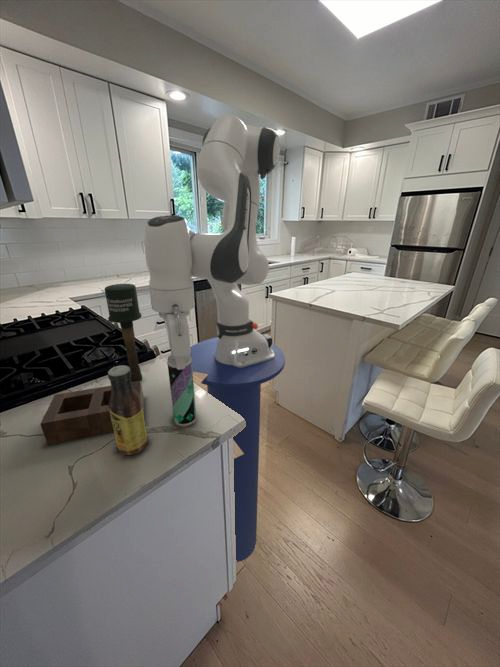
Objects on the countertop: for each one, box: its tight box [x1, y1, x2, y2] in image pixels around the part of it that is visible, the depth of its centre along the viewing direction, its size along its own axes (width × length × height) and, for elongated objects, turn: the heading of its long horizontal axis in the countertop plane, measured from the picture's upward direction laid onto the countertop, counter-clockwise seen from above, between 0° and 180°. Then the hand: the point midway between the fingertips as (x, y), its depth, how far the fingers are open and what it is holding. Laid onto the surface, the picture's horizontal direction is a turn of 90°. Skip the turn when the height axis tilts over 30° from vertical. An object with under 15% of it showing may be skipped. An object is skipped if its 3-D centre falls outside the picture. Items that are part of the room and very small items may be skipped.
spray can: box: [166, 354, 197, 427], centre depth 67 cm, size 6×6×20 cm
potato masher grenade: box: [104, 283, 143, 382], centre depth 81 cm, size 8×9×30 cm
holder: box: [40, 381, 145, 446], centre depth 69 cm, size 20×11×6 cm, turn 110°
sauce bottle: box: [107, 364, 148, 456], centre depth 58 cm, size 7×6×20 cm
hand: (178, 358), depth 63 cm, fingers open, 8 cm apart
